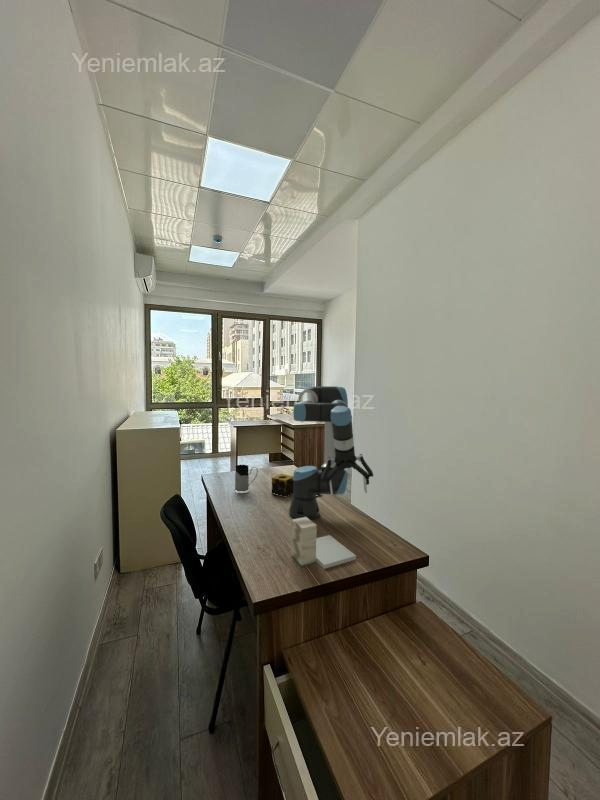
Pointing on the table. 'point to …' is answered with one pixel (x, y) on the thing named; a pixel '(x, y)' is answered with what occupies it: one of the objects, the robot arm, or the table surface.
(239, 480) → the glass mug
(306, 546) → the birch block
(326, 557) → the pad
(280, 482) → the candle
